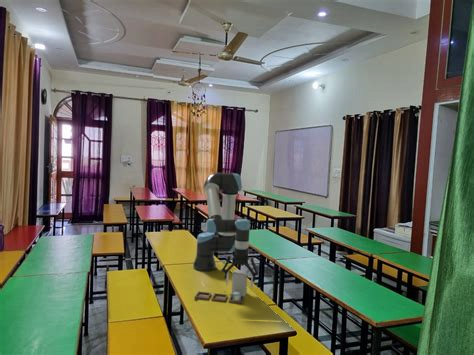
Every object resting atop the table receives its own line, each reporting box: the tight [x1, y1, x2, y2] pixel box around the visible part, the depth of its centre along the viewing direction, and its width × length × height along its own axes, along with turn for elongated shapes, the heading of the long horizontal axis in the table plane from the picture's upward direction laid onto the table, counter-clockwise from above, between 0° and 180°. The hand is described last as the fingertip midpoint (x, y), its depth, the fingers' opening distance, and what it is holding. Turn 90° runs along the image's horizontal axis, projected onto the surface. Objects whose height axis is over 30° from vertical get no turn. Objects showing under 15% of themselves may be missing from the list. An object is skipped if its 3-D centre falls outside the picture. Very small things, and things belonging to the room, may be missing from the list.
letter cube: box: [233, 291, 241, 301], centre depth 176 cm, size 4×4×4 cm
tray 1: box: [193, 290, 212, 301], centre depth 179 cm, size 7×7×2 cm
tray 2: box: [210, 292, 229, 303], centre depth 178 cm, size 7×7×2 cm
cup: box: [231, 269, 249, 297], centre depth 186 cm, size 8×8×12 cm
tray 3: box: [228, 294, 245, 305], centre depth 177 cm, size 7×7×2 cm
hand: (239, 285), depth 186 cm, fingers open, 13 cm apart
